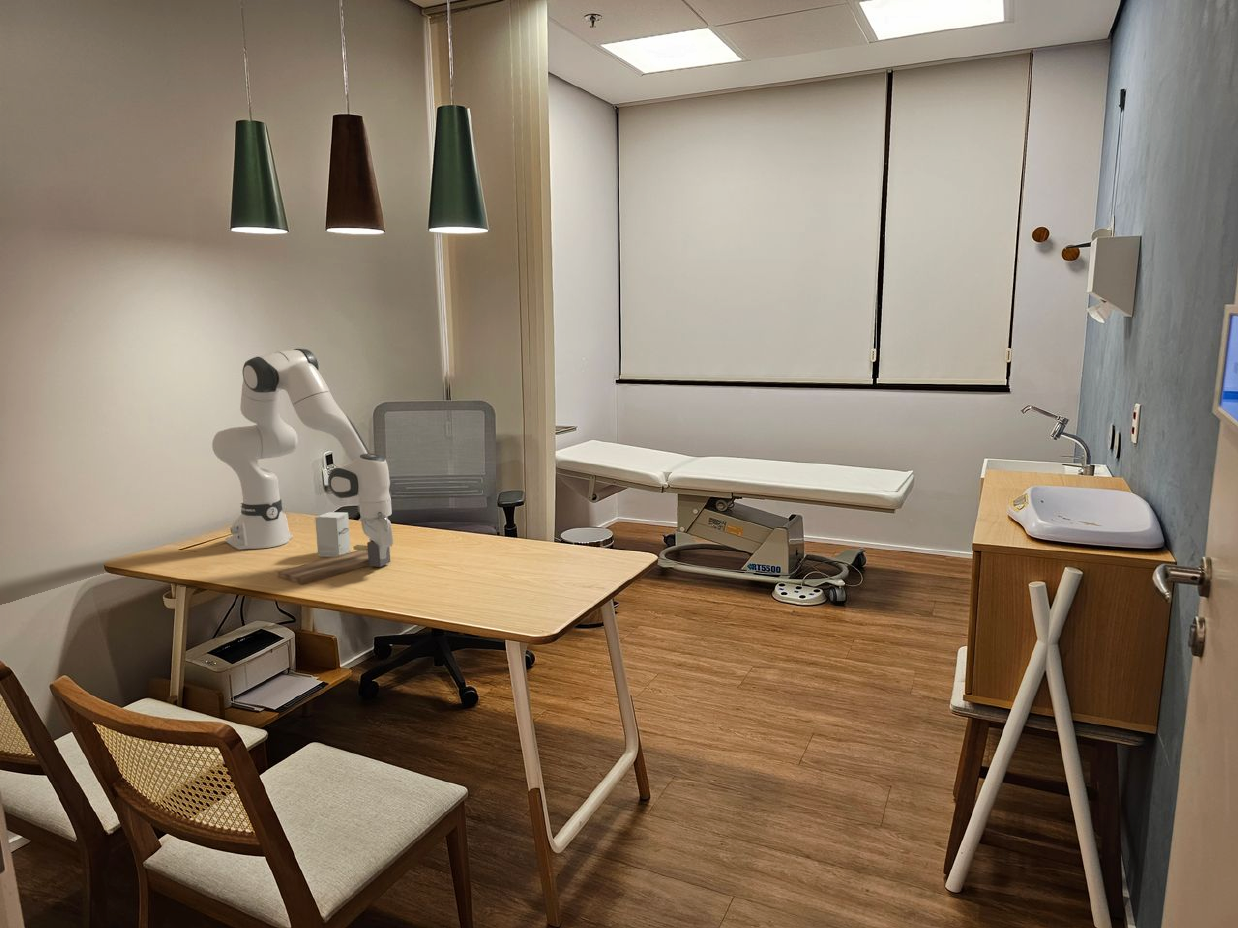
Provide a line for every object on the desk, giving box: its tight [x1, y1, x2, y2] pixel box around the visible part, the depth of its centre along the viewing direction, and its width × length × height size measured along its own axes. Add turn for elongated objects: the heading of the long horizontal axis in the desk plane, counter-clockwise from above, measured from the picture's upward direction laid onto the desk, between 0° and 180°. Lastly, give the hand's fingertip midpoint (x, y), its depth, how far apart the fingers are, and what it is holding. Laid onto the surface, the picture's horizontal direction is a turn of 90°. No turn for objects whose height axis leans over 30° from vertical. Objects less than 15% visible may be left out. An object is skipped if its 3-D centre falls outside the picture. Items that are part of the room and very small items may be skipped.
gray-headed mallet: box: [352, 540, 391, 568], centre depth 238 cm, size 10×5×7 cm, turn 72°
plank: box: [277, 550, 370, 586], centre depth 237 cm, size 12×28×2 cm, turn 142°
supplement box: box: [314, 511, 352, 558], centre depth 251 cm, size 7×7×13 cm
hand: (379, 555), depth 238 cm, fingers closed on gray-headed mallet, 6 cm apart
